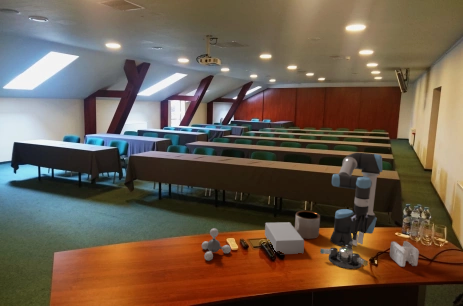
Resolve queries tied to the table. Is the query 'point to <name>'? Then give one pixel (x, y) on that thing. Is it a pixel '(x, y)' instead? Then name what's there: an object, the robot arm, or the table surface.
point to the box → (284, 238)
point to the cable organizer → (404, 253)
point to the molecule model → (214, 245)
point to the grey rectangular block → (330, 252)
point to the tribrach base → (343, 264)
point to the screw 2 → (358, 260)
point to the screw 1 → (349, 245)
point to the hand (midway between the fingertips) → (357, 243)
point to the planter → (307, 224)
